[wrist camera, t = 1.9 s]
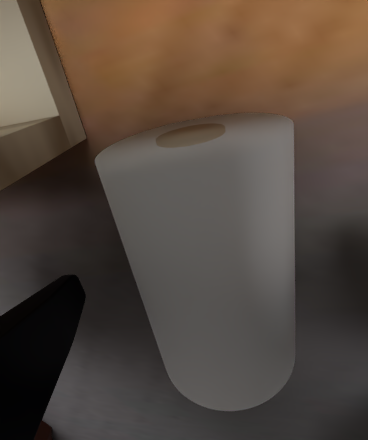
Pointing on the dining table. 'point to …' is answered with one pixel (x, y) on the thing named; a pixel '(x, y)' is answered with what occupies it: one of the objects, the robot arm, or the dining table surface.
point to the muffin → (43, 432)
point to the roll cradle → (32, 94)
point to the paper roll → (212, 250)
